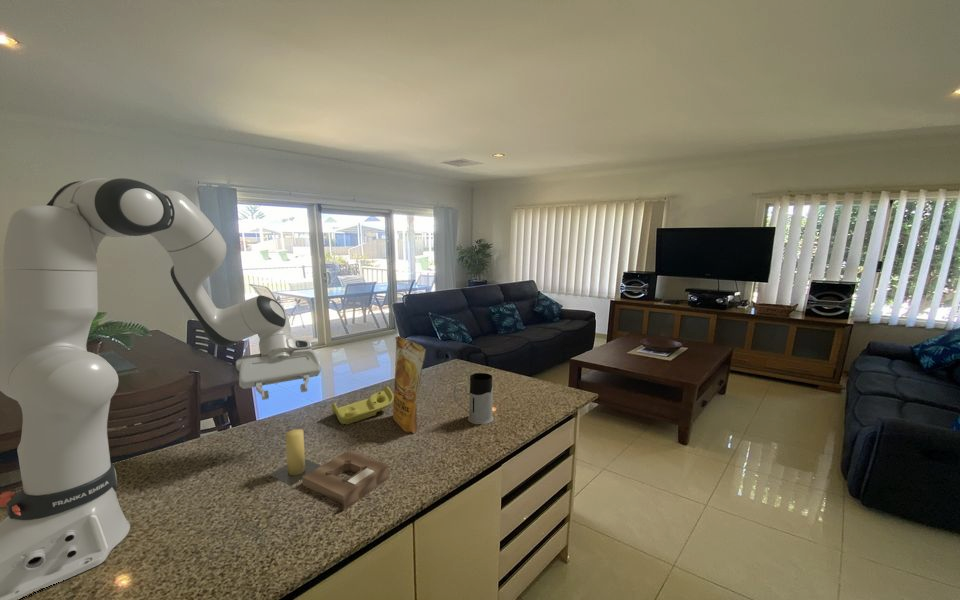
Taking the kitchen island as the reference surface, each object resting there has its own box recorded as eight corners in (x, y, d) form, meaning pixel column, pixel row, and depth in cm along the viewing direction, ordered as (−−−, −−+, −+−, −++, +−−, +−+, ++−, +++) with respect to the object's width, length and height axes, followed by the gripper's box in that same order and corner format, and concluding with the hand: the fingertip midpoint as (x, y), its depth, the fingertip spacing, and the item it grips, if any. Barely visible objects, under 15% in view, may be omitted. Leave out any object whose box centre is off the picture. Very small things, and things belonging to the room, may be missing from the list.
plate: (291, 491, 89) (291, 485, 88) (268, 480, 93) (268, 474, 93) (324, 472, 96) (323, 466, 96) (301, 462, 101) (301, 457, 101)
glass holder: (498, 421, 126) (498, 378, 124) (458, 429, 120) (459, 384, 118) (486, 411, 134) (486, 371, 132) (449, 418, 128) (449, 376, 126)
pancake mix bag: (405, 410, 134) (404, 334, 131) (428, 432, 118) (427, 345, 115) (387, 414, 131) (385, 336, 127) (408, 437, 115) (406, 348, 111)
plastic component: (342, 420, 121) (331, 399, 127) (341, 436, 125) (331, 414, 131) (398, 401, 133) (386, 383, 139) (396, 416, 136) (384, 397, 143)
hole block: (344, 510, 82) (343, 495, 82) (302, 490, 89) (302, 476, 89) (388, 477, 94) (388, 464, 94) (349, 462, 101) (349, 449, 101)
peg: (294, 477, 92) (292, 438, 91) (284, 472, 94) (282, 434, 93) (308, 468, 95) (306, 431, 94) (298, 464, 97) (296, 427, 96)
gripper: (234, 351, 100) (240, 397, 93) (316, 341, 112) (326, 381, 105) (235, 363, 104) (240, 408, 97) (313, 352, 116) (323, 392, 109)
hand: (285, 394), depth 101 cm, fingers open, 8 cm apart
